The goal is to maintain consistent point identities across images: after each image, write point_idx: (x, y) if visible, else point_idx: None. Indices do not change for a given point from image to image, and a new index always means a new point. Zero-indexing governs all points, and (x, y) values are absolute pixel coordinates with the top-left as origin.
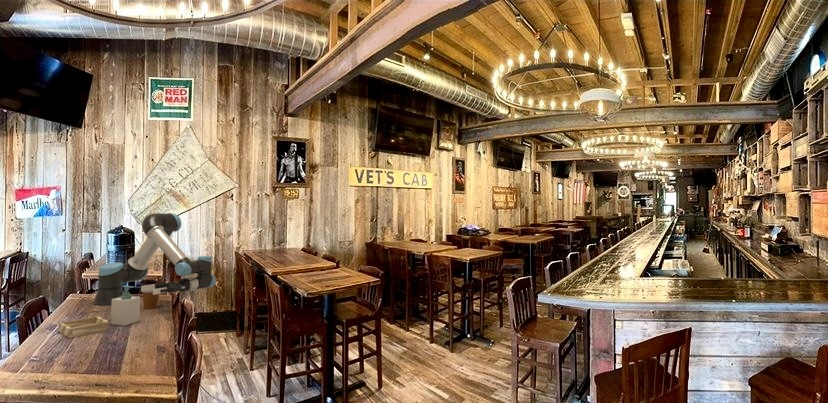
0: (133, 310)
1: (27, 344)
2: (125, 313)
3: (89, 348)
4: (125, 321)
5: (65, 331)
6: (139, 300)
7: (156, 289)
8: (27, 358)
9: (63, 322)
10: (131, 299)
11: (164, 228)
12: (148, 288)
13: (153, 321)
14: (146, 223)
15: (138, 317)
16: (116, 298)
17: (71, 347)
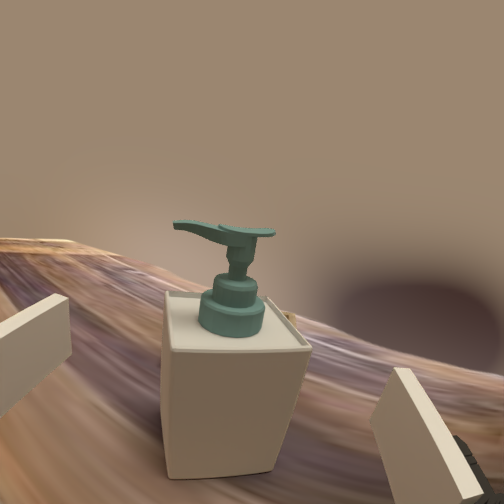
0: (163, 391)
1: None
2: (161, 363)
3: (80, 292)
4: (160, 399)
5: None
6: (169, 370)
7: (35, 309)
8: (146, 271)
9: (290, 316)
10: (166, 311)
11: None
12: (399, 459)
13: (79, 491)
14: None
15: (167, 460)
16: (275, 310)
17: (123, 293)
